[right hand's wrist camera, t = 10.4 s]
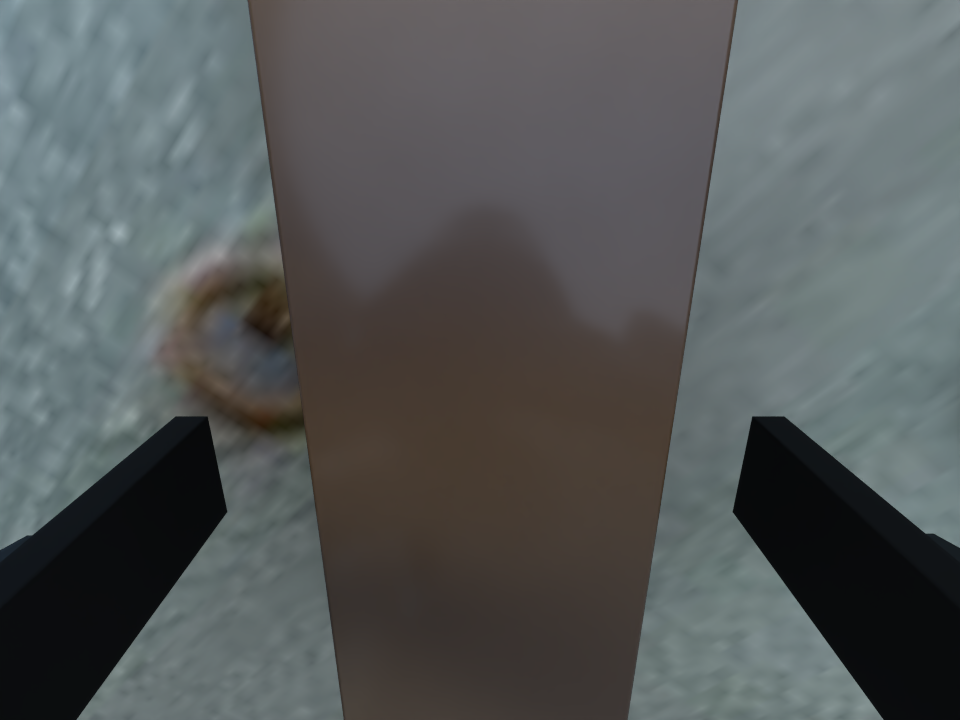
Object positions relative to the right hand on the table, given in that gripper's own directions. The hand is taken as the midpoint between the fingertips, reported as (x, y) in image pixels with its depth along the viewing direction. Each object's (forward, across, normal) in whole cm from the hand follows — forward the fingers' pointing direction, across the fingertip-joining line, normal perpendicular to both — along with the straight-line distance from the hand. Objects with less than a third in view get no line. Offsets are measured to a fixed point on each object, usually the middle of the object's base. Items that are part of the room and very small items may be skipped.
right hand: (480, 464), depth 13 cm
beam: (+4, 0, -22) cm, 22 cm away
